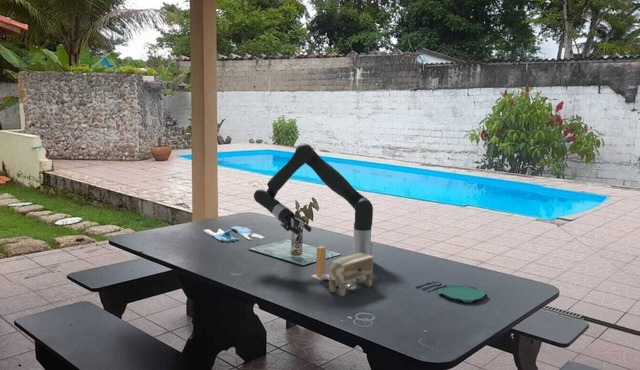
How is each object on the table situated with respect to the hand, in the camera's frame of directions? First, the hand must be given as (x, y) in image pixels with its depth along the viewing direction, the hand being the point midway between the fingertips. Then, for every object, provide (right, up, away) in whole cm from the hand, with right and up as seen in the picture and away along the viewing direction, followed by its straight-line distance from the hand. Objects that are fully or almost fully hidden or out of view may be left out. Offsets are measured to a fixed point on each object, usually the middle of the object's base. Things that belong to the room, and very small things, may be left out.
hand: (304, 231), depth 261 cm
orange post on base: (+11, -22, -8) cm, 26 cm away
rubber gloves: (-46, -9, +72) cm, 86 cm away
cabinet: (+21, -24, -18) cm, 37 cm away
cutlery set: (+67, -26, -20) cm, 74 cm away
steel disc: (+21, -24, -18) cm, 37 cm away
